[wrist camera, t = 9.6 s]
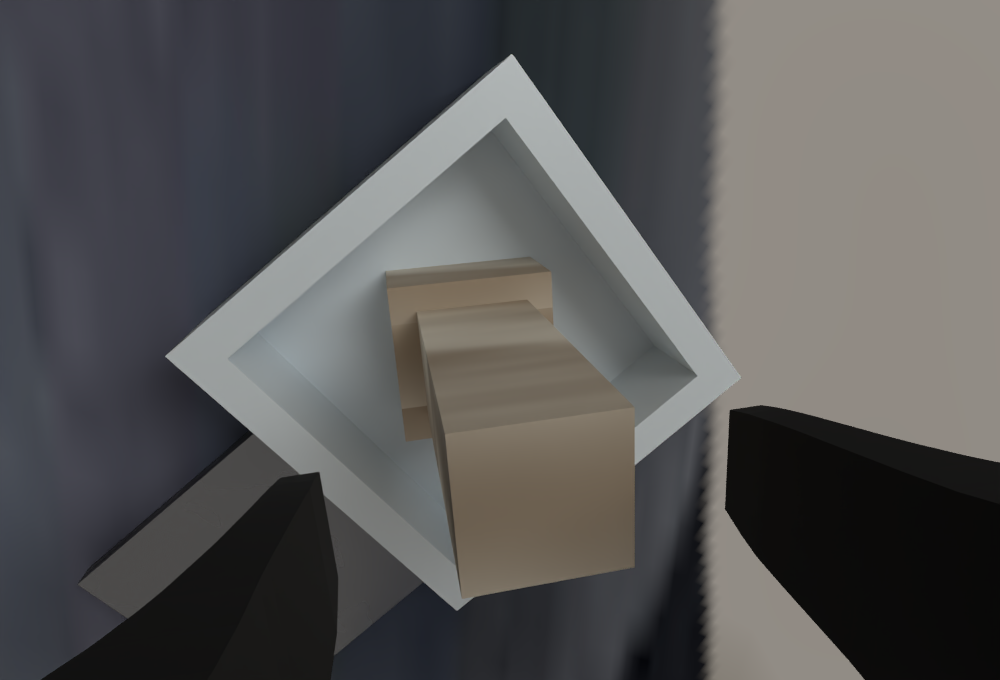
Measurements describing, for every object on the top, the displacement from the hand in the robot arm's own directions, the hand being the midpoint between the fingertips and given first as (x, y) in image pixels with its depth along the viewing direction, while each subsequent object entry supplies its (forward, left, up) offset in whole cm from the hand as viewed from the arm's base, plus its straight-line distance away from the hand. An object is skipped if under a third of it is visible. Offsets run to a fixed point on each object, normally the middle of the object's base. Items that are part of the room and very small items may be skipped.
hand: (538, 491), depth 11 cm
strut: (0, 0, -9) cm, 9 cm away
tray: (0, 0, -10) cm, 10 cm away
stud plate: (-2, +10, -10) cm, 15 cm away
